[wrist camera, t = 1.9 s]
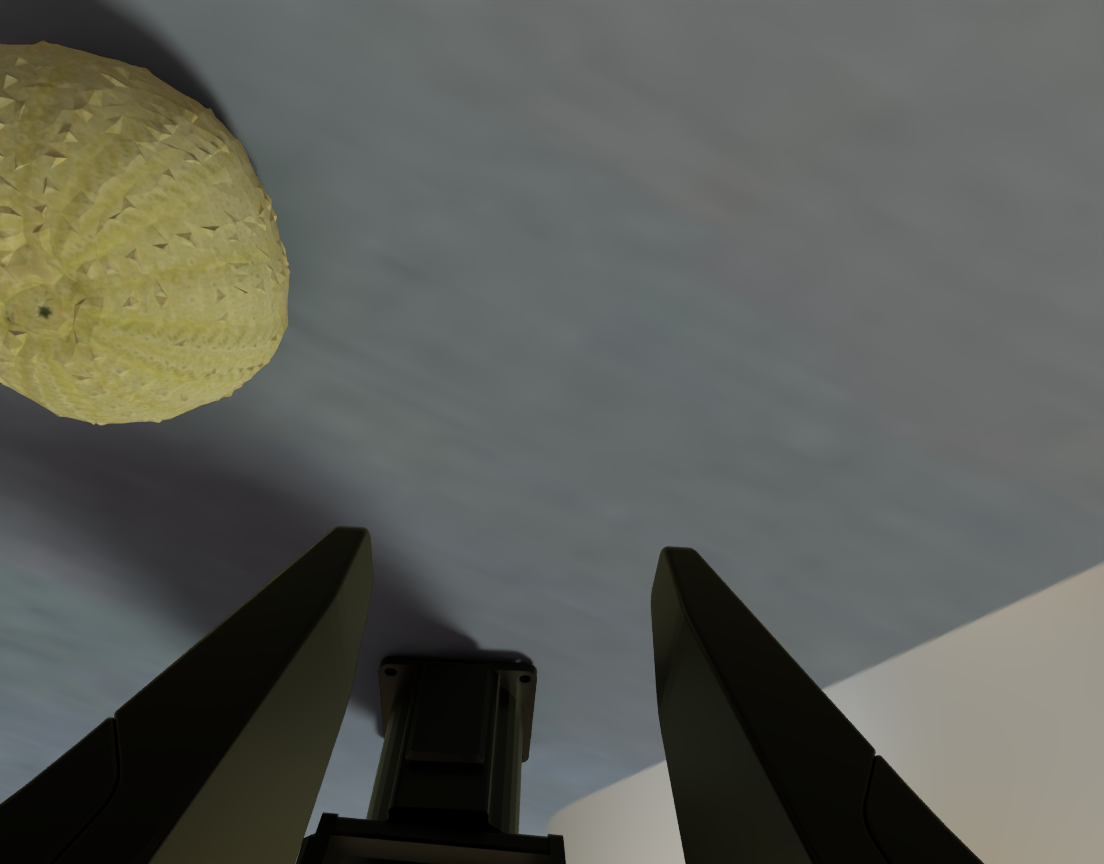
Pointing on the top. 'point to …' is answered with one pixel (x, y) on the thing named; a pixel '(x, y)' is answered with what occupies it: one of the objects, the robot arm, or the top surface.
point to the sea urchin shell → (127, 243)
